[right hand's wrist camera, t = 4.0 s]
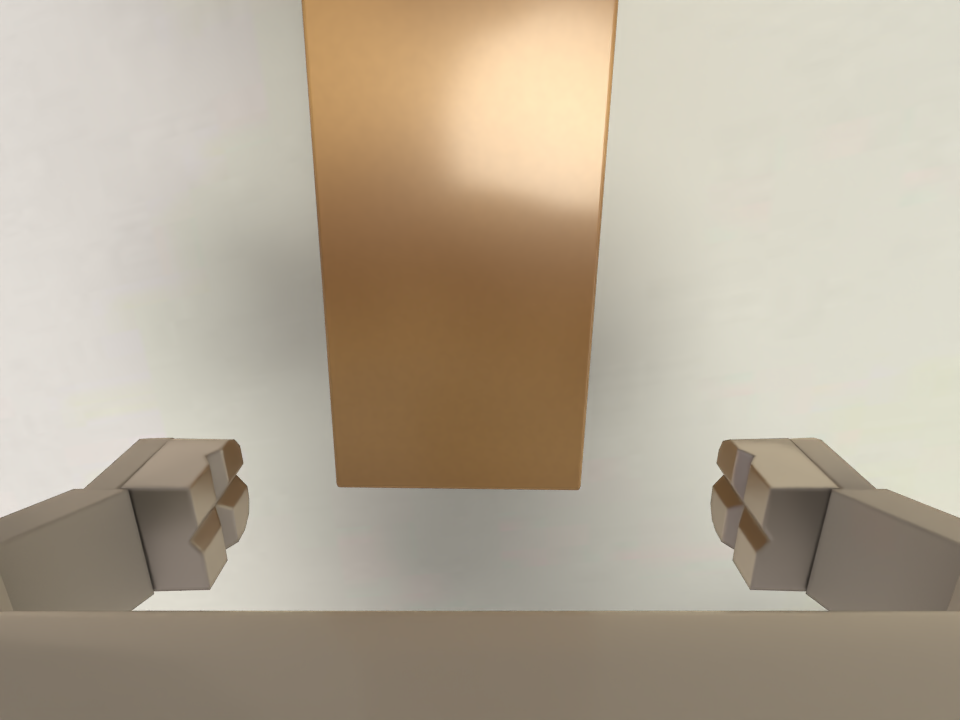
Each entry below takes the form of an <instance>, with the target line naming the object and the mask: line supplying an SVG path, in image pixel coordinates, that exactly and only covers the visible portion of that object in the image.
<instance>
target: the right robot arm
mask: <svg viewBox="0 0 960 720" xmlns="http://www.w3.org/2000/svg"><path fill="white" fill-rule="evenodd" d="M242 465H243V458H242V454H241V449H240V445H239V444H238V443H237V442H236V441H235V440H234V439H182V438H177V439H174V438H147V439H139V440H138V441H137V442H136V443H135V444H134V445H132V446H131V447H130V448H129V449H128V450H127V451H126V452H125V453H123V454H122V455H121V456H120V457H119V458H118V459H117V460H116V461H114V462H113V463H112V464H111V465H110V466H109V467H108V468H107V469H105V470H104V471H103V472H102V473H101V474H100V475H99V476H98V477H96V478H95V479H94V480H93V481H92V482H91V483H90V484H89V485H87V486H86V487H85V488H84V489H72V490H70V491H67V492H65V493H62V494H60V495H57V496H55V497H52V498H50V499H47V500H45V501H42V502H40V503H37V504H34V505H32V506H29V507H27V508H24V509H22V510H19V511H17V512H14V513H12V514H9V515H7V516H4V517H2V518H0V720H960V518H958V517H956V516H953V515H951V514H948V513H946V512H943V511H941V510H938V509H935V508H933V507H930V506H928V505H925V504H923V503H920V502H918V501H915V500H913V499H910V498H908V497H905V496H903V495H900V494H898V493H895V492H893V491H890V490H888V489H876V488H875V487H874V486H873V485H871V484H870V483H869V482H868V481H867V480H866V479H865V478H864V477H862V476H861V475H860V474H859V473H858V472H857V471H856V470H855V469H853V468H852V467H851V466H850V465H849V464H848V463H847V462H846V461H845V460H843V459H842V458H841V457H840V456H839V455H838V454H837V453H836V452H834V451H833V450H832V449H831V448H830V447H829V446H828V445H827V444H825V443H824V442H823V441H822V440H820V439H816V438H793V439H789V438H776V439H734V440H725V441H723V442H722V444H721V446H720V449H719V452H718V458H717V465H718V466H719V468H720V470H721V471H722V473H723V474H724V475H723V476H722V477H721V478H720V479H719V480H718V481H717V482H716V483H715V484H714V485H713V488H712V496H711V503H710V504H711V514H712V521H713V524H714V528H715V531H716V533H717V535H718V536H719V538H720V540H721V542H723V543H724V544H726V545H728V546H729V547H731V548H733V549H734V554H733V562H734V564H735V565H736V567H737V569H738V570H739V572H740V574H741V575H742V577H743V579H744V580H745V582H746V584H747V585H748V587H749V589H750V590H777V591H806V594H807V595H808V596H810V597H811V598H812V599H814V600H815V601H816V602H818V603H819V604H820V605H822V606H823V607H825V608H826V609H827V610H829V611H132V610H133V609H134V608H136V607H137V606H138V605H140V604H141V603H142V602H144V601H145V600H147V599H148V598H149V597H151V596H152V595H153V594H154V591H182V590H210V589H211V587H212V585H213V584H214V582H215V580H216V579H217V577H218V575H219V574H220V572H221V570H222V569H223V567H224V565H225V564H226V562H227V554H226V549H227V548H229V547H231V546H232V545H234V544H236V543H237V542H239V540H240V538H241V536H242V534H243V533H244V531H245V528H246V524H247V520H248V515H249V494H248V488H247V485H246V484H245V483H244V482H243V481H242V480H241V479H240V478H239V477H238V476H237V475H236V474H237V473H238V471H239V469H240V468H241V466H242Z"/></svg>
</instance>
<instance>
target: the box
mask: <svg viewBox="0 0 960 720" xmlns="http://www.w3.org/2000/svg"><path fill="white" fill-rule="evenodd" d="M617 12H618V0H302V13H303V27H304V41H305V54H306V68H307V82H308V96H309V110H310V123H311V137H312V151H313V165H314V178H315V192H316V206H317V220H318V234H319V247H320V261H321V275H322V289H323V303H324V316H325V330H326V344H327V358H328V371H329V385H330V399H331V413H332V427H333V440H334V454H335V468H336V482H337V485H338V487H369V488H449V489H530V490H579V488H580V486H581V473H582V460H583V447H584V435H585V422H586V409H587V396H588V383H589V371H590V358H591V345H592V332H593V319H594V307H595V294H596V281H597V268H598V255H599V243H600V230H601V217H602V204H603V191H604V179H605V166H606V153H607V140H608V127H609V115H610V102H611V89H612V76H613V64H614V51H615V38H616V25H617Z"/></svg>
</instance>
